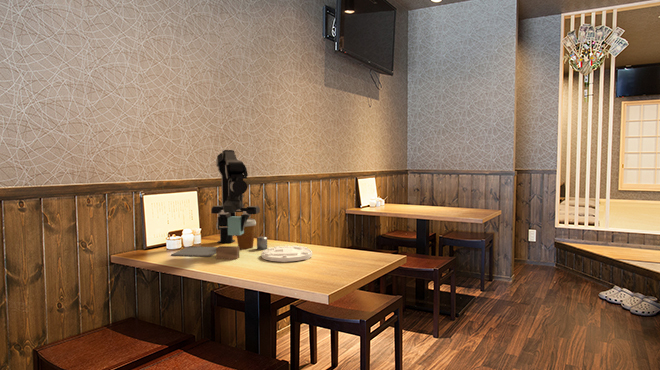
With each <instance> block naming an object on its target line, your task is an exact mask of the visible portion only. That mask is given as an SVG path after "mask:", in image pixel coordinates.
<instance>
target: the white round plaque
mask: <svg viewBox="0 0 660 370" xmlns="http://www.w3.org/2000/svg"><path fill="white" fill-rule="evenodd" d="M312 256H313V251H312V250H311V248H309V247H306V246H302V245H300V246H298V245H291V246H290V245H283V246H281V245H277V246H276V245H275V246H273V247H270V246H269V247H267V249H266V250H261V258H262V259H263V260H266V261H271V262H280V263H281V262H282V263H288V262H296V261H297V262H299V261H306V260H310V258H311V257H312Z"/></svg>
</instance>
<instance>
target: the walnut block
mask: <svg viewBox="0 0 660 370" xmlns="http://www.w3.org/2000/svg"><path fill="white" fill-rule="evenodd" d="M215 255H216V260H233V259H237V260H238V259H239V258H240V248H239V246H238V245H237V246H231V245H230V246H227V245H219V246H217V248H216V254H215Z"/></svg>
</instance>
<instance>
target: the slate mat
mask: <svg viewBox="0 0 660 370" xmlns="http://www.w3.org/2000/svg"><path fill="white" fill-rule="evenodd" d="M217 247H218V246H217ZM217 247H216V246H194V245H193V246H189V245H188V246H187V247H185V248H182V249H180V250H177V251H176V252H173V253H171V254H170V257H171V256H172V257H197V258H199V257H200V258H211V257H212V256H214V255H216V248H217Z"/></svg>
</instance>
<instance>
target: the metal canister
mask: <svg viewBox="0 0 660 370" xmlns="http://www.w3.org/2000/svg"><path fill="white" fill-rule="evenodd" d="M267 249H268V237H267V236H258V237H256V250H258V251H263V250H267Z"/></svg>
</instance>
